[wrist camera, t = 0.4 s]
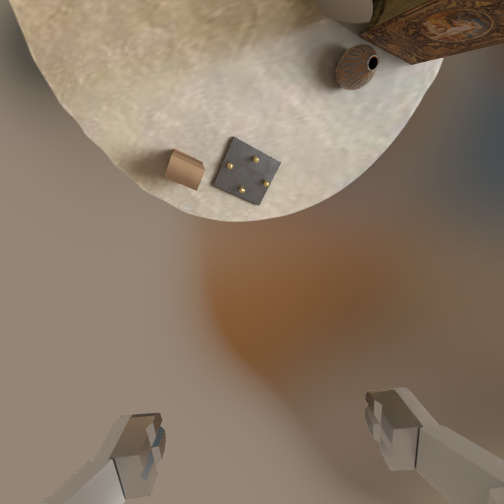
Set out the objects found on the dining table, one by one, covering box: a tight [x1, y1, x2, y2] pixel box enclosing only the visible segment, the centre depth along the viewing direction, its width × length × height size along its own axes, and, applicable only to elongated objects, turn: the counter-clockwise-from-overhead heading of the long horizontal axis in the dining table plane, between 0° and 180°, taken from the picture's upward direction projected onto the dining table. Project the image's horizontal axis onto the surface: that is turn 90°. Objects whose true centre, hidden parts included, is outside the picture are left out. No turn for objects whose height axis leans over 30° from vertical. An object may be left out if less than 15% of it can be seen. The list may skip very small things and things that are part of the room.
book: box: [360, 0, 504, 65], centre depth 37 cm, size 16×6×25 cm, turn 75°
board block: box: [164, 149, 205, 191], centre depth 46 cm, size 4×6×10 cm, turn 63°
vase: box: [335, 45, 379, 90], centre depth 45 cm, size 7×7×9 cm
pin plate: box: [213, 137, 281, 205], centre depth 53 cm, size 11×12×3 cm
